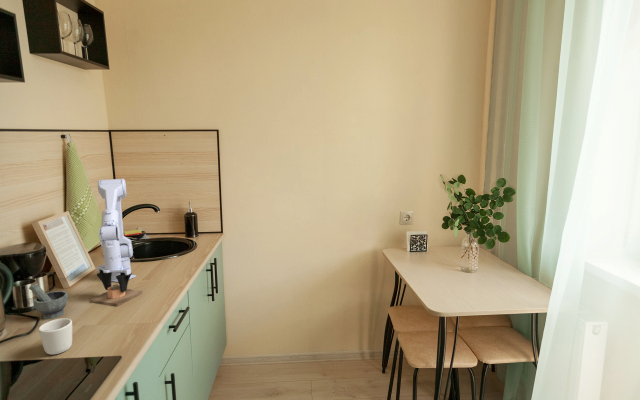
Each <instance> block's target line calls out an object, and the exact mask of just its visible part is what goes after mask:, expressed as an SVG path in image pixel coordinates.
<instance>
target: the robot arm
mask: <svg viewBox="0 0 640 400" xmlns="http://www.w3.org/2000/svg"><path fill="white" fill-rule="evenodd" d="M126 183H127V182H126V180H125V178H116V179H115V178H114V179H112V178H111V179H99V180H98V181H97V189H98V194H99V195H100V197H101V198H102V200H104V207H105V209H104V210H103V211H102V212H101V225H100V226H101V227H99V228H98V237H99V240H100V246H101V247H102V254H103V262H104V263H103V264H100V265H97V266H96V270H97V273H96V276H97V277H98V278H99V279H100V281H101V282H102V283H101V284H102V285H103V287H104V289H105V291H107V288H109V287H111V286H112V283H113V282H115V283H118V285H119V286H120V291H121V292H125V291H127V289H128V285H129V280H132V279H133V278H135V277H137V275H136V274H133V273H132V267H131V259H130V258H132V257H133V256H134V255H133V254H134V251H133V244H132V240H131V239H130V238H128V237H126V236H125V235H124V234H125V233H124V223H123V211H122V200H123V199H125V198H126V197H127V184H126Z"/></svg>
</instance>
